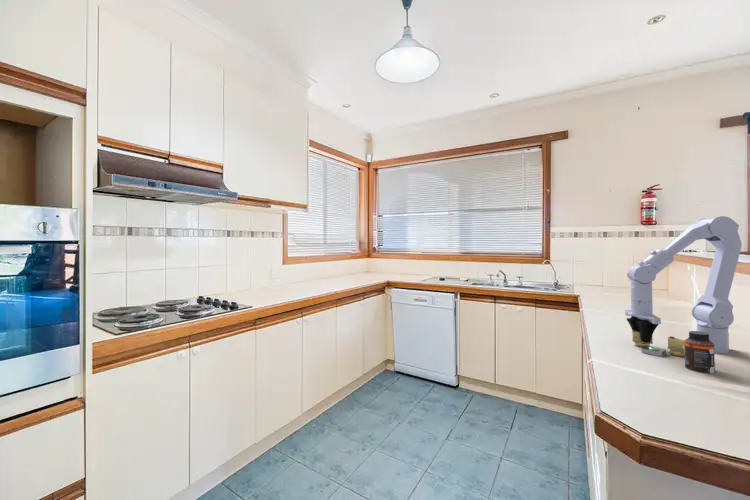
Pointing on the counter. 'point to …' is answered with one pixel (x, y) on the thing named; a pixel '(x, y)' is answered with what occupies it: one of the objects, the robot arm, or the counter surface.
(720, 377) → the counter surface
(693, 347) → the supplement bottle
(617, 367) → the counter surface
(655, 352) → the instrument base
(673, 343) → the knob
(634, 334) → the knob
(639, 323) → the robot arm
